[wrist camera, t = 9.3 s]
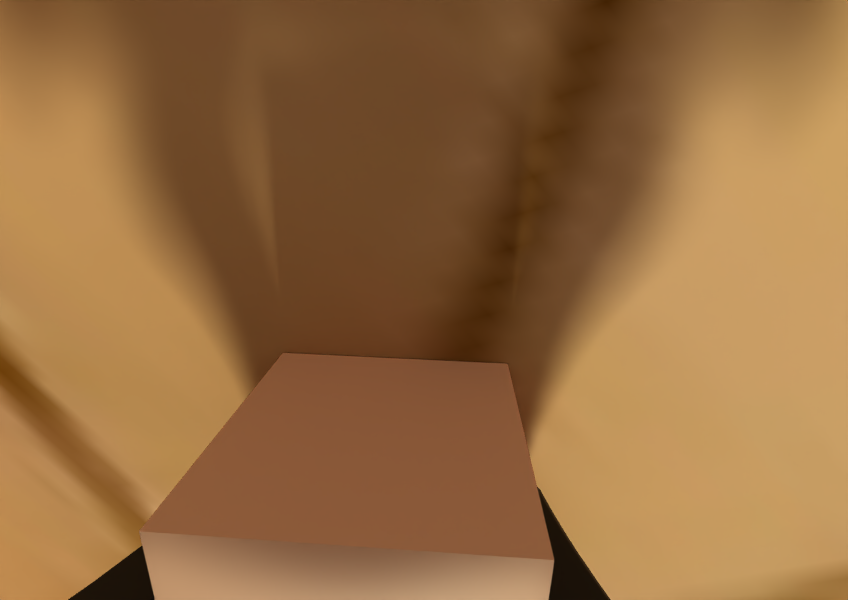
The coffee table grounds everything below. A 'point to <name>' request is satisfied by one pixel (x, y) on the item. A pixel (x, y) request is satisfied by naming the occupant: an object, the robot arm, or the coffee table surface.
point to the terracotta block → (359, 490)
